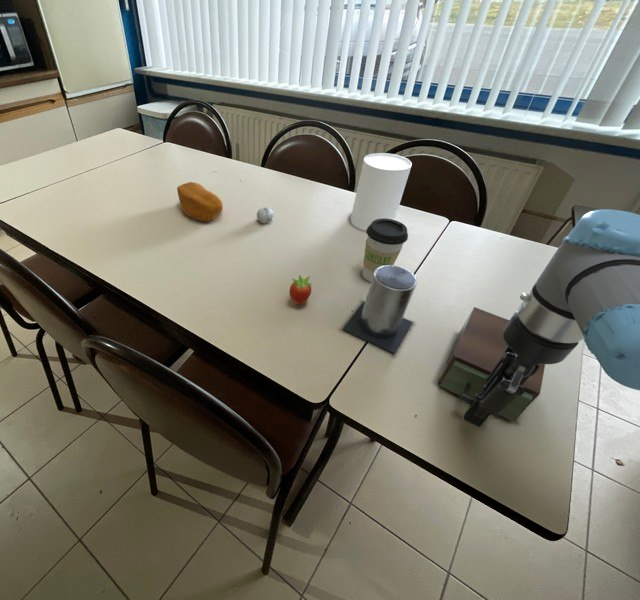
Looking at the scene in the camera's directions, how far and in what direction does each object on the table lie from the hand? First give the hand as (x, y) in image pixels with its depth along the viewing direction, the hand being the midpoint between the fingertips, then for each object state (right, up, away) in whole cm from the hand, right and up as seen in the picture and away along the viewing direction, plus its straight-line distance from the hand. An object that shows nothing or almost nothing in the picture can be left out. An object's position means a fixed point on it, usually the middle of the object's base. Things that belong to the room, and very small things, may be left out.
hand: (472, 420), depth 64 cm
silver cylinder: (-9, +15, +21) cm, 27 cm away
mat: (-9, +15, +21) cm, 27 cm away
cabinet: (+9, +6, +11) cm, 16 cm away
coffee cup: (-4, +27, +35) cm, 45 cm away
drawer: (+7, +5, +8) cm, 12 cm away
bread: (-53, +52, +63) cm, 98 cm away
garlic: (-32, +47, +58) cm, 81 cm away
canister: (+3, +47, +57) cm, 74 cm away
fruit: (-26, +20, +27) cm, 43 cm away
